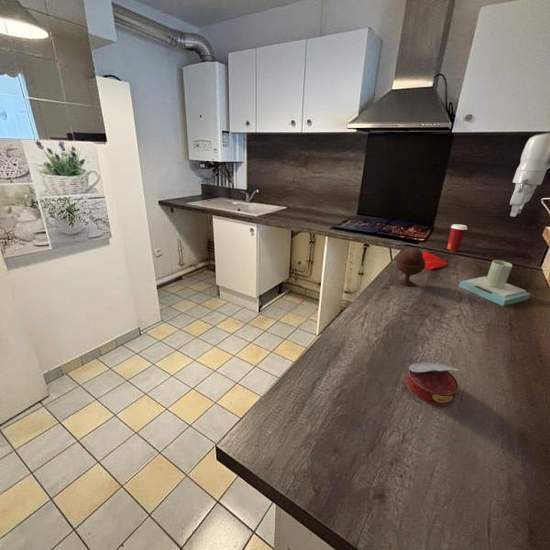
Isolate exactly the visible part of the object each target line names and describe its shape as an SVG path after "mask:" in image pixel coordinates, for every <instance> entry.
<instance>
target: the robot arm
mask: <svg viewBox="0 0 550 550" xmlns="http://www.w3.org/2000/svg"><path fill="white" fill-rule="evenodd" d="M519 162H520V163H519V165H518V167H517V168H516V171H515V173H514V176H513V179H512V183H513V184H515V185H514V190H513V193H512V195H511V199H510V201H509V205H510V206H511V210H510V214H509V216H510V217H513V218H514V217H516V216H517V215H519V214H521V212H522V210H523V208H524V206H525V204H527V203H528V202H529V201H530V200H531V198H532V196H533V194H534V192H535V190H536V188H537V186H540V185H542V183H543V180H544V178H545V175H546V173H547V170H548V169H550V131H548V132H542V133H537V134H534V135H532V136H531V137H530V138H529V139H528V140H527V141H526V143H525V145H524V148H523V149H522V153H521V156H520V161H519Z"/></svg>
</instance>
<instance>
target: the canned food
mask: <svg viewBox="0 0 550 550" xmlns="http://www.w3.org/2000/svg"><path fill="white" fill-rule="evenodd" d="M459 371H460V369H458V368H456V367H452V366H450V365H445V364H441V363H433V362H423V361H422V362H421V361H420V362H415V363H412V364H410V365H409V367H408V372H407V374H406V375H407V376H406V378H405V383H406V386H407V388H408V389H409V391H410V392H411V393H412V394H413V395H414V396H415V397H417V398H418V399H420V400H422V401H424V402H426V403H428V404H431V405H436V406H447V405H449V404H451V403H453V402H454V400H455V398H456V395H457V392H458V390H459V383H458V381H457V379H456V377H455V376H454V375H453V374H452V373H451V372H459Z"/></svg>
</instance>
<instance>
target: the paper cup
mask: <svg viewBox="0 0 550 550" xmlns="http://www.w3.org/2000/svg"><path fill="white" fill-rule="evenodd" d="M450 228H451V229H450V233H449V237H448V242H447V247H446V250H447V249H449V250H459V251H460V249H461V246H462V243H463V240H464V237H465V236H466V235H465V234H466V232H467V230H468V226H467V225H465V224H460V223H454V224H451V226H450Z"/></svg>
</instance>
